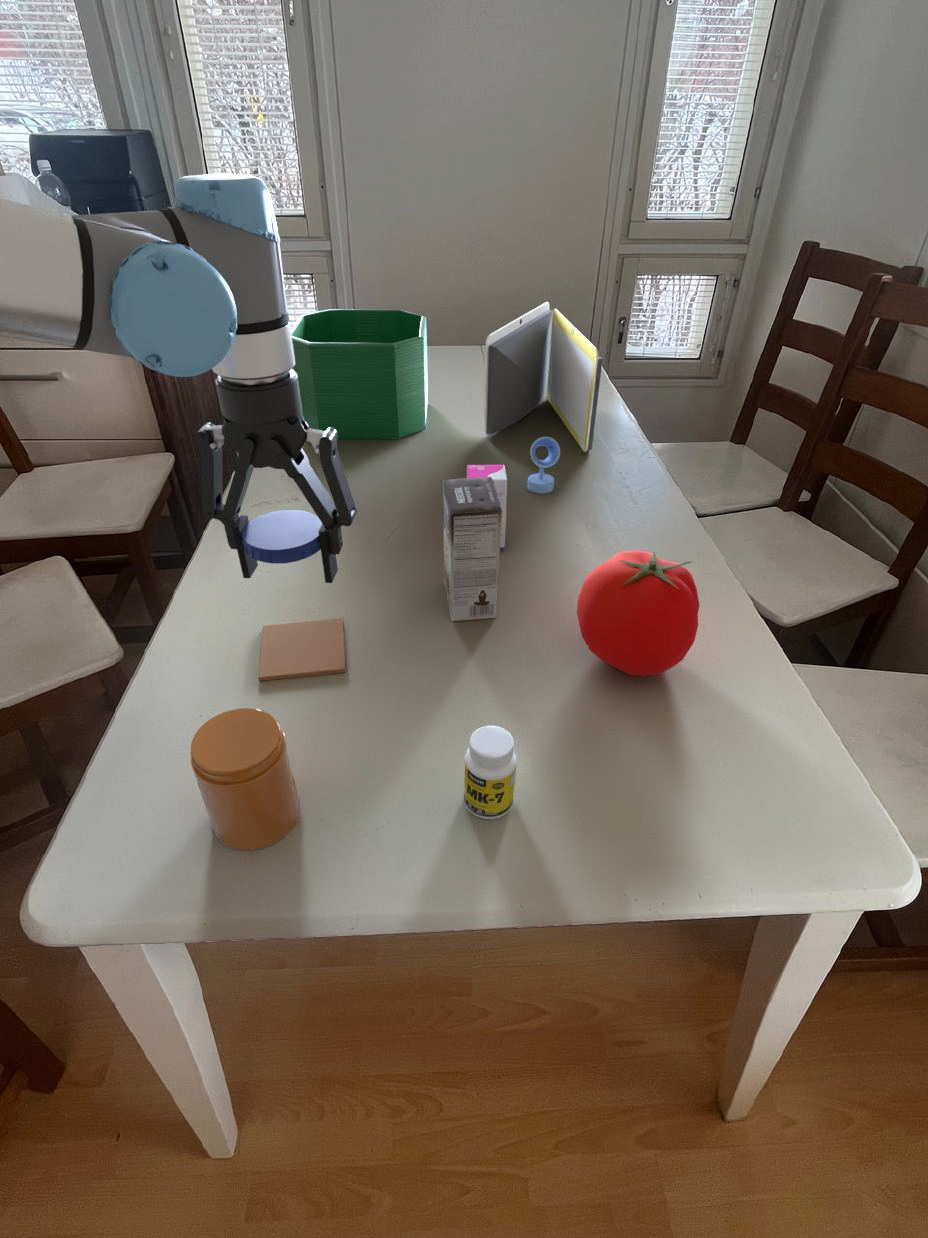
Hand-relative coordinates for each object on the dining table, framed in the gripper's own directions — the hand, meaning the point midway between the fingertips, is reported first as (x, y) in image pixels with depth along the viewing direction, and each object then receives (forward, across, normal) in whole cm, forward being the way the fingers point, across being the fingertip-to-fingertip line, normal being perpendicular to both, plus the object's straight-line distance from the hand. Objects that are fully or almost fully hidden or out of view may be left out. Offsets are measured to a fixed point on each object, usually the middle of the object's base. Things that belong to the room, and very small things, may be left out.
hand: (291, 573), depth 78 cm
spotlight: (+12, -29, -47) cm, 56 cm away
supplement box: (+11, -20, -28) cm, 37 cm away
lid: (-5, 0, 0) cm, 5 cm away
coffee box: (+11, -19, -12) cm, 26 cm away
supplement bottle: (+11, -24, +20) cm, 34 cm away
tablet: (+12, -26, -78) cm, 82 cm away
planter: (+11, +8, -77) cm, 79 cm away
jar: (+11, -2, +24) cm, 27 cm away
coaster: (+11, 0, 0) cm, 11 cm away
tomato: (+11, -39, -3) cm, 41 cm away
